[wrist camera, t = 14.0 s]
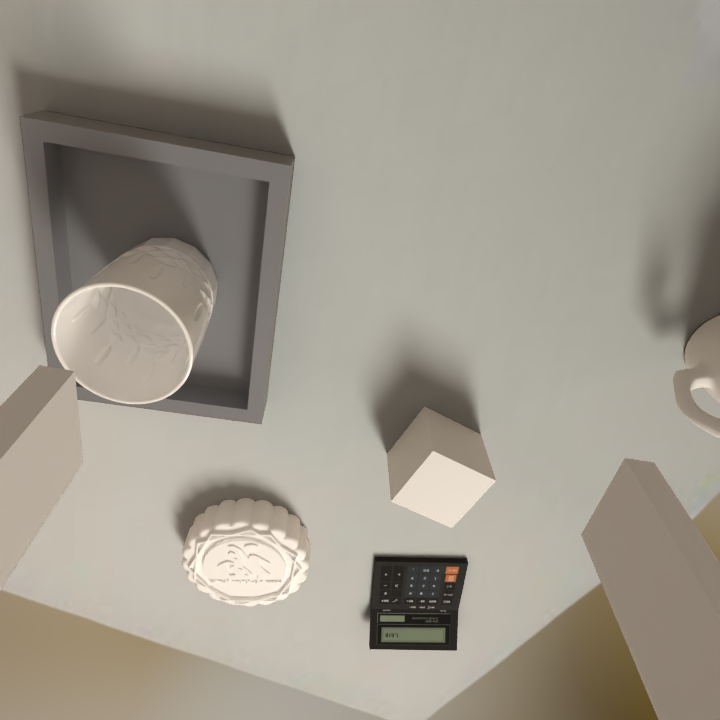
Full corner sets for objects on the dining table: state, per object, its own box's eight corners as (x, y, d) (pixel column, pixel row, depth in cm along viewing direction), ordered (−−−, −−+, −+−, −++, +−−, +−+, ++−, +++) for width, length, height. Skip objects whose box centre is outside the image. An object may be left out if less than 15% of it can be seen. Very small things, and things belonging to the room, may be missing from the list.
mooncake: (309, 496, 53) (307, 525, 49) (311, 581, 59) (309, 612, 55) (181, 495, 52) (170, 523, 49) (196, 580, 58) (187, 611, 55)
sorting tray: (43, 110, 35) (19, 116, 33) (294, 156, 37) (290, 165, 34) (68, 375, 45) (51, 396, 43) (266, 402, 47) (261, 424, 44)
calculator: (466, 556, 57) (471, 581, 54) (451, 627, 63) (456, 652, 60) (375, 554, 57) (376, 579, 54) (368, 625, 63) (369, 651, 60)
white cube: (441, 478, 52) (451, 528, 46) (386, 453, 50) (390, 501, 45) (481, 433, 49) (496, 480, 44) (424, 405, 47) (433, 451, 42)
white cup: (190, 348, 43) (150, 426, 35) (96, 288, 41) (27, 356, 32) (247, 273, 40) (219, 338, 32) (149, 204, 38) (89, 253, 29)
